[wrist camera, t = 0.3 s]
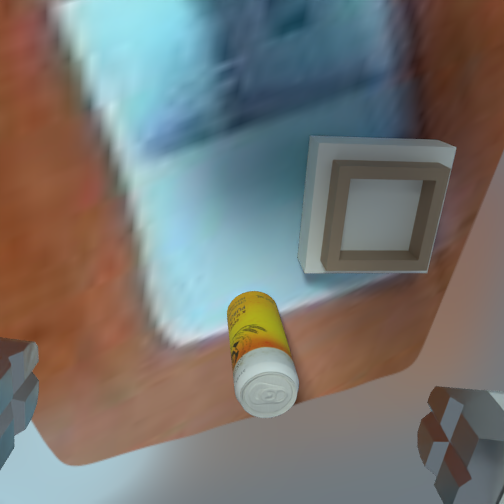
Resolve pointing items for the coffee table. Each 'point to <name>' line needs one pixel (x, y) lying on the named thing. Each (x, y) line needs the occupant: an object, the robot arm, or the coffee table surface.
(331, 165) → the display plinth
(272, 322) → the beer can
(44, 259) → the coffee table surface
